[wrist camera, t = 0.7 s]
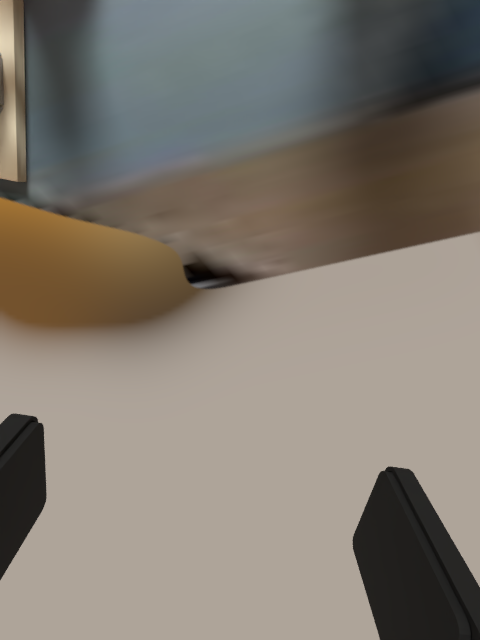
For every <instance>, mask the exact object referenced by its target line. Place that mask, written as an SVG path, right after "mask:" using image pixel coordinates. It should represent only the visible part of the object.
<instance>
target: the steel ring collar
mask: <svg viewBox="0 0 480 640" xmlns="http://www.w3.org/2000/svg"><path fill="white" fill-rule="evenodd" d="M0 56H1V53H0ZM0 104H1V105H4V88H3V59H2V58H0ZM1 105H0V113H1V112H2V110H3V107H2V106H1Z"/></svg>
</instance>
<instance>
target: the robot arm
mask: <svg viewBox="0 0 480 640" xmlns="http://www.w3.org/2000/svg"><path fill="white" fill-rule="evenodd" d="M45 502H46V474H45V450H44V428H43V425H42V423H38V419H37V418H36V417H34V416H27V415H20V414H11V415H9V416H8V417H7V418H6V419H5V420H4V421H3V422H2V423H1V424H0V580H1V578H2V576H3V575H4V573H5V571H6V570H7V568H8V566H9V565H10V563H11V561H12V560H13V558H14V557H15V555H16V553H17V552H18V550H19V548H20V547H21V545H22V543H23V542H24V540H25V538H26V537H27V535H28V533H29V532H30V530H31V528H32V526H33V525H34V523H35V522H36V520H37V518H38V517H39V515H40V513H41V512H42V510H43V507H44V505H45ZM353 550H354V553H355V556H356V560H357V563H358V567H359V570H360V573H361V577H362V580H363V583H364V586H365V590H366V593H367V596H368V600H369V604H370V607H371V610H372V614H373V617H374V620H375V624H376V627H377V630H378V634H379V637H380V640H480V587H479V586H478V584H477V582H476V580H475V579H474V577H473V575H472V573H471V572H470V570H469V568H468V566H467V565H466V563H465V561H464V559H463V558H462V556H461V554H460V553H459V551H458V549H457V548H456V546H455V544H454V542H453V541H452V539H451V537H450V535H449V534H448V532H447V530H446V529H445V527H444V525H443V523H442V522H441V520H440V518H439V516H438V515H437V513H436V511H435V510H434V508H433V506H432V504H431V503H430V501H429V499H428V497H427V496H426V494H425V492H424V491H423V489H422V487H421V485H420V484H419V482H418V480H417V479H416V477H415V475H414V473H413V472H412V471H411V470H409V469H404V468H397V467H387V468H386V470H385V471H381V472H380V474H379V475H378V478H377V480H376V483H375V485H374V488H373V490H372V492H371V495H370V497H369V500H368V502H367V504H366V507H365V509H364V512H363V514H362V516H361V519H360V521H359V524H358V526H357V529H356V531H355V533H354V536H353Z"/></svg>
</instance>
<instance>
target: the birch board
mask: <svg viewBox="0 0 480 640" xmlns="http://www.w3.org/2000/svg"><path fill="white" fill-rule="evenodd" d="M0 53H1V56H0V58H2V59H3V88H4V105H1V104H0V105H1V106H2V107H3V110H2V112H1V113H0V178H1V179H6V180H11V181H16V182H26V126H25V65H24V3H23V0H0Z"/></svg>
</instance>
